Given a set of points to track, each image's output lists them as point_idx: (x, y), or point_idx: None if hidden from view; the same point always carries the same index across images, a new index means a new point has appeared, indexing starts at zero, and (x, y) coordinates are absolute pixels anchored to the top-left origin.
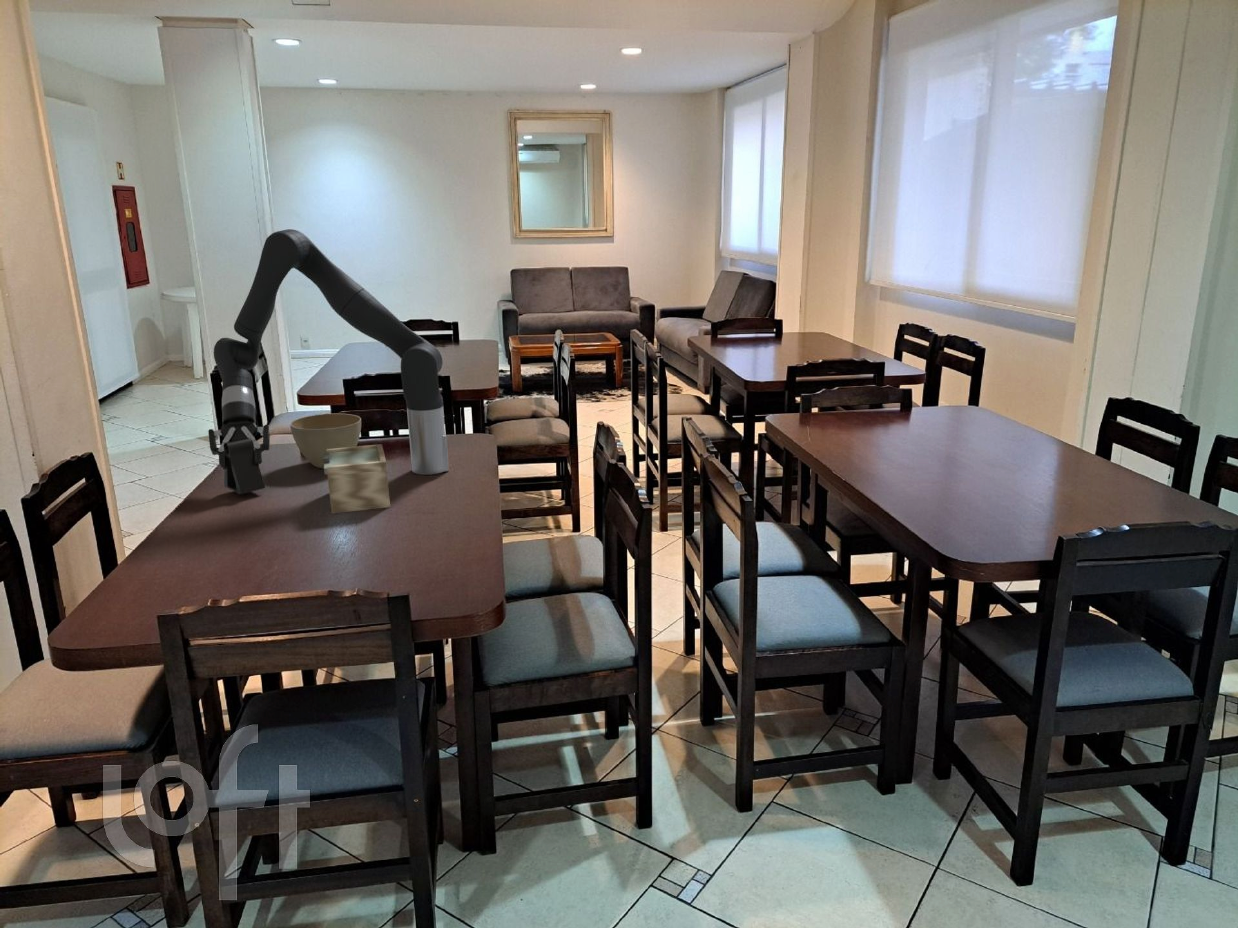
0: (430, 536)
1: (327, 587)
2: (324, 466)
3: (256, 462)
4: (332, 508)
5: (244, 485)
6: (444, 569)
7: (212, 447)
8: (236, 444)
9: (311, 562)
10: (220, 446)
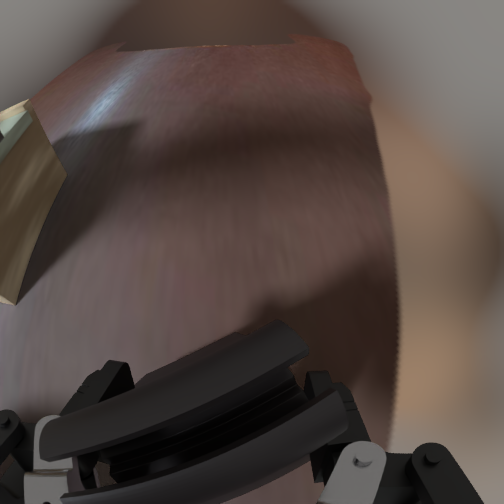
0: (42, 109)
1: (161, 50)
2: (17, 121)
3: (119, 362)
4: (61, 168)
5: (216, 344)
6: (79, 70)
7: (437, 455)
8: (191, 367)
9: (157, 69)
10: (376, 485)
